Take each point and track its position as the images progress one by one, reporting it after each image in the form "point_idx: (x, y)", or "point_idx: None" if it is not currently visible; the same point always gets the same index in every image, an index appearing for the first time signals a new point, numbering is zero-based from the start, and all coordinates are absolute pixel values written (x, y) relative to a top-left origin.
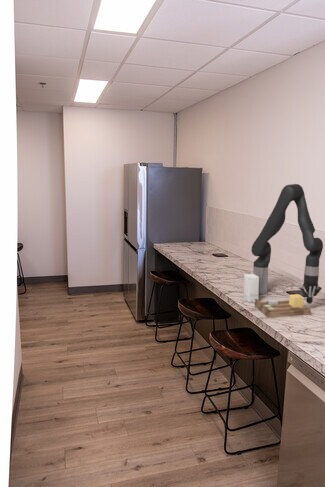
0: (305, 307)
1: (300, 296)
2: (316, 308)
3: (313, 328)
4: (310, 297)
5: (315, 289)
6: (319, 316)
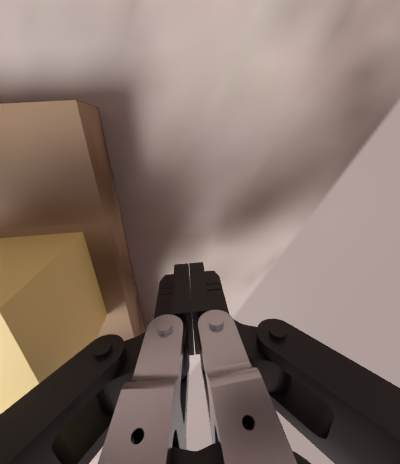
0: (123, 327)
1: (13, 399)
2: (256, 243)
3: (94, 459)
4: (193, 350)
5: (383, 439)
6: (192, 363)
